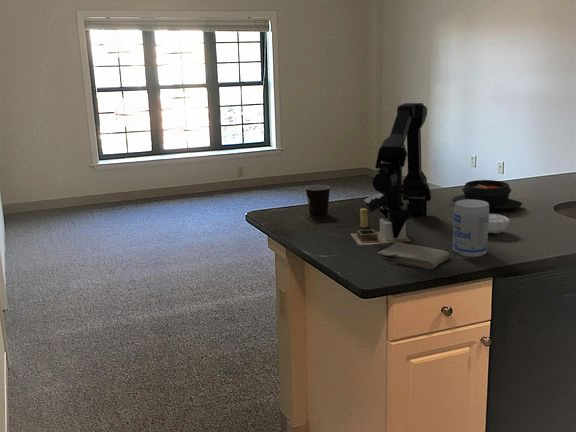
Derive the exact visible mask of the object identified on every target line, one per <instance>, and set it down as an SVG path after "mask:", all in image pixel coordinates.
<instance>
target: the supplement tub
mask: <svg viewBox="0 0 576 432" xmlns="http://www.w3.org/2000/svg"><path fill="white" fill-rule="evenodd" d="M489 214H490V210H489V203H487V202H485V201H482V200H474V199H465V200H459V201H456V202H454V207H453V220H452V221H453V225H452V227H453V228H452V229H453V230H452V247H451V248H452V250H453V251H454V252H456V253H455V254H456V255H458V256H461V257H467V258H468V257H469V258H477V257H482V256H484V255H485V254H487V252H488V236H489V233H488V223H489Z"/></svg>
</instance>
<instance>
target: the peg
mask: <svg viewBox="0 0 576 432" xmlns="http://www.w3.org/2000/svg"><path fill="white" fill-rule="evenodd" d="M359 210H360V211H359V215H360V216H359V217H360V218H359V219H360V221H359V224H360V226H359V227H360V228H364V229H365V228H368V226H369V220H368V219H369V215H368V212H369V210H368V209H367V208H364V207H363V208H360V209H359Z"/></svg>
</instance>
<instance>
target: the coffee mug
mask: <svg viewBox="0 0 576 432" xmlns="http://www.w3.org/2000/svg"><path fill="white" fill-rule="evenodd" d="M305 193H306V198H307V204H308V212H309V216H310V217H314V218H315V217H316V218H317V217H318V218H321V217H320V216H322V217H325V216H328V211H329V201H330V200H329V199H330V186H329V185H326V184H313V185H308V186H306V187H305Z"/></svg>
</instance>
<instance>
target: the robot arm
mask: <svg viewBox="0 0 576 432" xmlns="http://www.w3.org/2000/svg"><path fill="white" fill-rule="evenodd" d="M427 115H428V108H427V106H426V105H424V103H422V102H412V103H411V102H409V103H408V102H403V104H399V105H398V106H397V107H396V116H395V119H394V122H393V125H392V128H391V131H390V134H389V136H388V137H387V138H385V139H384V140H383V142H382V144H381V145H380V147H379V149H378V152H377V153H378V154H377V157H376V163H375V166H374V167H375V168H374V169H378V173H377V174H376V175H374V177H373V179H372V186H373V188H374V189H375V191H376V192H378V193H376V194H374V195H371V196H369V197H366V198H365V199H363V202H364V205H365V206H366V209H368V212H369V213H371V212H375V210H378V211H379V212H380V213H381V214H382V216H383V219H385V218H387V219H388V220H389V221H391V225H392V231H393V237H394V238H397V237H398V235H399V233H400V231H401V229H402V227H403V225H404V224H405V223H406V221H407V220H410V219H412V218H420V217H428V215H427V209H428V208H427V205H428V204H427V202H428V201H429V202H430V201H432V195H431V194H432V193H431V189H430V188H429V187H430V186H429V183H428V179H427V176H426V174H424V172H423V171H422V168H423V167H422V127H423V125H424V123H425V122H426V118H427ZM405 141H406V145H405ZM406 162H407V174H406V175H405V178H404V179H403V167H405V165H406ZM403 201H406V203H404V202H403Z"/></svg>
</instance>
